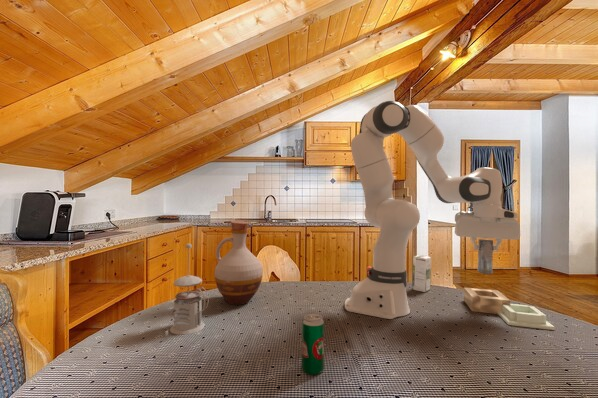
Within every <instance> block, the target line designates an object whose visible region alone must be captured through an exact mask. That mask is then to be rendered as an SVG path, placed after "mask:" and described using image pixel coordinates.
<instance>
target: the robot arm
mask: <svg viewBox="0 0 598 398" xmlns="http://www.w3.org/2000/svg"><path fill="white" fill-rule="evenodd" d="M393 134H397V135H399V136H401V138H402V139H403V141H405V143H406V144H407V145H408V147H409V148H410V149H411V151H412V152H413V153H414V155H415V159H416V160H417V164H418V165H419V166H420V168H421V170H422V171H423V172H424V173H425V175H426V177H427V179H428V180H429V181H430V183H431V185H432V186H433V189H434V193H435V195H436V196H435V197H436V198H437V199H438V200H439V201H440V202H441V203H444V204H456V203H459V204H460V203H462V204H464V203H466V204H467V203H469V204H470V203H472V211H459V212H457V213H455V215H454V222H455V227H454V235H455V236H457V237H464V238H470V242H471V243H472V244H473V250H475V251H478V250H479V247H480V245H478V243H476V241H477V238H478V239H495V244H493V252H498V251H499V247H500V245H501V244H502V243H503V240H512V241H513V240H517V241H518V240H519V239H520V237H521V226H520V223H519V222H520V221H518V220H517V219H518V213H517V212H515V211H512V210H509V209H505V208H503V207H502V200H501V196H502V194H503V179H502V178H503V177H502V173H501V172H500V170H499V169H497V168H494V167H485V166H482V167H477V168H476V170H474V171H473V172H470V173H468V174H466V175H464V176H463V175H461V176H454V177H453V176H451V175H448V174H447V172H446V171H445V170H444V168H443V166H442V165H441V163H440V162H439V160H438V157H437V155H438V154H439V152H440V151H441V150H442V148H443V146H444V143H445V137H444V134H443V132H442V130H441V128H440V127H439V126H438V125H437V124H436V122H434V120H433V119H432V118H431V117H430V115H428V113H426V112H425V111H424V110H423V109H422V108H420V106H418V105H416V104H409V105H403V104H401V103H400V102H398V101H395V100H386V101H383V102H381V103H379V104H378V105H376V106H374V107H372V108H370V109H369V110H368V111H367V113H365V114H364V115H363V117H362V118H361V121H360V125H359V133H358V134H357V135H355V136H354V137H353V138H352V140H351V142H350V149H351V155H352V160H353V163H354V166H355V169H356V172H357V175H358V178H359V180H360V183H361V186H362V190H363V195H364V203H365V208H364V219H365V220H366V221H367V222H368V223H369V224H370V225H372V227H375V228H378V229H380V230H379V235H378V238H377V241H376V242H375V244H373V247H372V251H373V252H372V266H367V267H366V278H365V279H363V280H362V281H359V283H357V284H356V285H354V286H353V288H352V291H351V295H350V297H347V298H346V299H345V301H344V309H345V310H346V311H347V312H350V313H356V314H362V315H366V316H372V317H377V318H382V319H385V320H387V319H388V320H393V319H395V318H398V317H404V316H407V315H409V314H410V312H411V310H410V306H409V302H408V296H407V295H408V294H407V284H408V272H407V270H406V268H407V267H406V266H407V265H406V263H407V261H406V260H407V259H406V258H407V246H408V243H409V239H410V237H411V234H412V233H413V231H414V229H416V227H418V225H419V223H420V218H421V213H420V210H419V208H418V206H416V204H414V203H412V202H410V201H408V200H405V199H401V198H399V199H397V198H394V195H393V183H394V181H395V177H394V174H393V171H392V168H391V165H390V162H389V160H388V157H387V155H386V151H385V149H384V140H385V138H388V137H390V136H392V135H393Z"/></svg>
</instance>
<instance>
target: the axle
mask: <svg viewBox="0 0 598 398" xmlns="http://www.w3.org/2000/svg"><path fill="white" fill-rule="evenodd" d="M477 245H480V247H479V250H477V252H478V253H477V272H478V273H480V274H484V275H492V274H493V261H494V259H493V257H494V256H493V255H494V251H493V246H494V240H493V239H490V238H478V243H477Z"/></svg>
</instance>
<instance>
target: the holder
mask: <svg viewBox="0 0 598 398" xmlns="http://www.w3.org/2000/svg"><path fill="white" fill-rule="evenodd" d="M497 315H498V316H499V317H500V318H501V319H502V320H503V321H504V322H505V323H506V324H507V325H508V326H517V327H524V328H532V329H533V328H534V329H539V330H540V329H541V330H549V331H550V330H551V331H555V326H554V325H553V324H551V323H550V322H549V321H548V320H547V315H546V314H545V313H544V312H543V311H540V310H539V309H538V308H536V307H535V306H533V305H528V304H527V305H526V304H517V303H516V304H515V303H510V307H509V306H508V305H506V304H502V311H498V314H497Z"/></svg>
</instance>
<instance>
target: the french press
mask: <svg viewBox="0 0 598 398" xmlns="http://www.w3.org/2000/svg"><path fill="white" fill-rule="evenodd" d="M184 246H185V249H187V275H185V276H181V277H178V278H176V280H174V281H173V285H174V286H175V287H178V288H179V287H180V288H181V287H183V288H185V287H186V288H187V291H186V290H185V291H181V292H178V293H177V294H175V296H174V298H175V299H174V301H173V310H174V311H173V325H172V326H171V327H170V329H169V331H170V333H171V334H173V335H180V336H181V335H182V336H183V335H184V336H185V335H191V334H194V333H197V332H200V331H202V329H204V328H205V326H206V324H205V323H204V322H203V321H202V312H204V311H205V310H206V309H207V308H208V305H209V299H210V298H209V294H208V290H206V288H204V287H203V286H200V287H199V288H196V289H195V290H194V291H193V290H190V291H189V289H190V288H189V287H195V286H198V285H200V284H202V282H203V279H202V278H201V277H199V276H196V275H191V274H190V275H189V273H190V271H189V269H190V265H189V263H190V249H192V248H193V245H192V244H191V243H186V245H184ZM202 289H203V290H204V292H205V293H206V296H207V303H206V297H205V294H204V292H203V291H202ZM201 294H202V296H203V301H202V297H201ZM194 301H196V302H194ZM192 302H193V303H192ZM202 302H203V303H202ZM202 304H203V307H202ZM206 304H207V305H206Z"/></svg>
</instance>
